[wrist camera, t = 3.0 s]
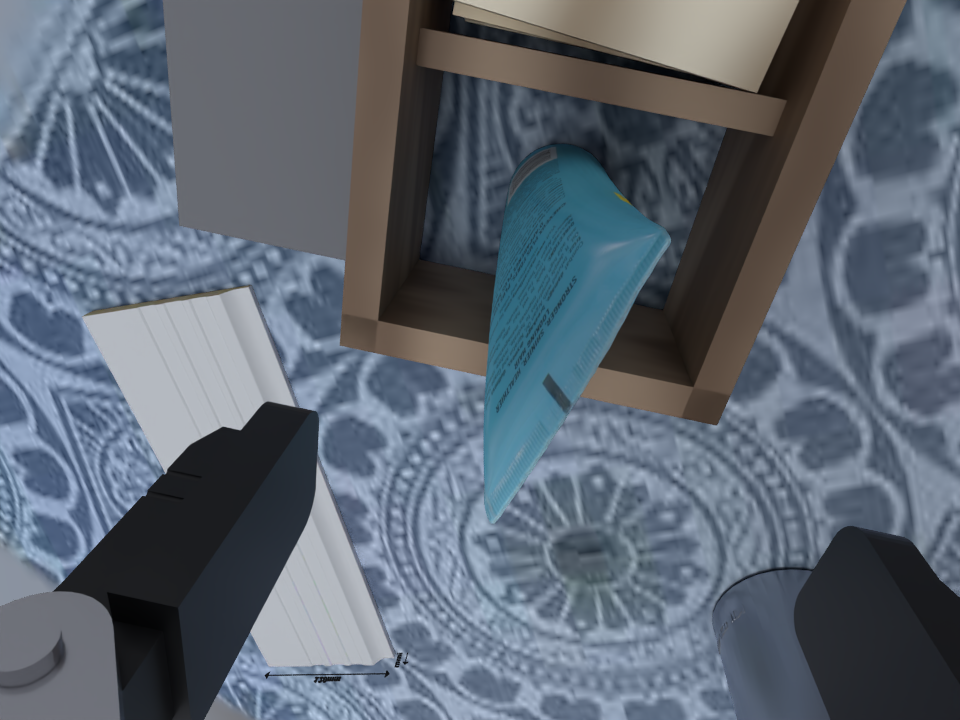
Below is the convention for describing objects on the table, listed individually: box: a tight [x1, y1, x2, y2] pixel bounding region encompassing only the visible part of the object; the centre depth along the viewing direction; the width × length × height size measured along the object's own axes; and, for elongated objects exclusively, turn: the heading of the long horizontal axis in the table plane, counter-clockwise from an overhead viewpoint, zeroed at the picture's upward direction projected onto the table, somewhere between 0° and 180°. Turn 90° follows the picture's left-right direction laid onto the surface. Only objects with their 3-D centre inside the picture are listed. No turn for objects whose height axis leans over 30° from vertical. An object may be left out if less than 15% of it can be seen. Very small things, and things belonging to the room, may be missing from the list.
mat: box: [163, 0, 363, 260], centre depth 28 cm, size 9×12×1 cm
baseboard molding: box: [82, 285, 408, 683], centre depth 40 cm, size 31×3×12 cm
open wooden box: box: [340, 0, 907, 425], centre depth 23 cm, size 16×20×8 cm
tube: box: [484, 144, 671, 524], centre depth 20 cm, size 7×5×19 cm, turn 161°
